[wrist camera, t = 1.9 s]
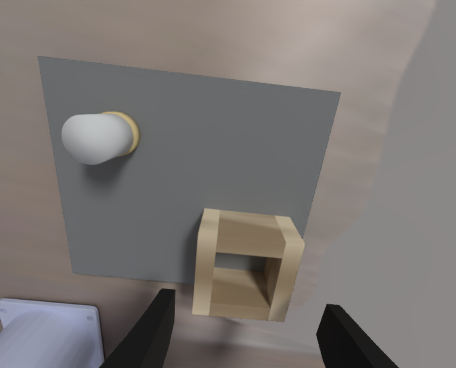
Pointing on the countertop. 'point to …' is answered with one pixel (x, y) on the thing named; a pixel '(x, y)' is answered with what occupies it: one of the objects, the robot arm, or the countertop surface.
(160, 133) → the post mat
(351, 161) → the countertop surface
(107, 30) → the countertop surface
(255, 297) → the collar
